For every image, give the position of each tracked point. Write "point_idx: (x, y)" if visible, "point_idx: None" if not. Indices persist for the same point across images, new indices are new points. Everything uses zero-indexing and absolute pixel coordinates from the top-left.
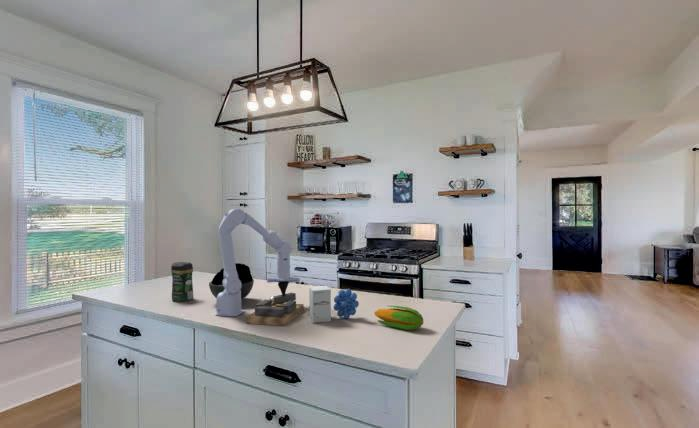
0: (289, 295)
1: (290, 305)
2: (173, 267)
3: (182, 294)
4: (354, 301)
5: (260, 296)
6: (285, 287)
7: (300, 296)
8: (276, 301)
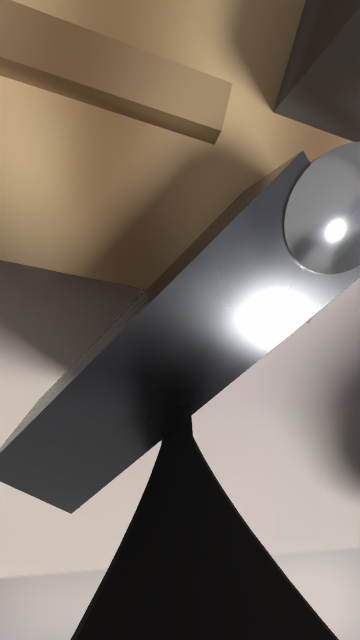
0: (58, 394)
1: None
2: None
3: None
4: None
5: (341, 528)
6: (97, 613)
7: (109, 545)
8: (233, 205)
